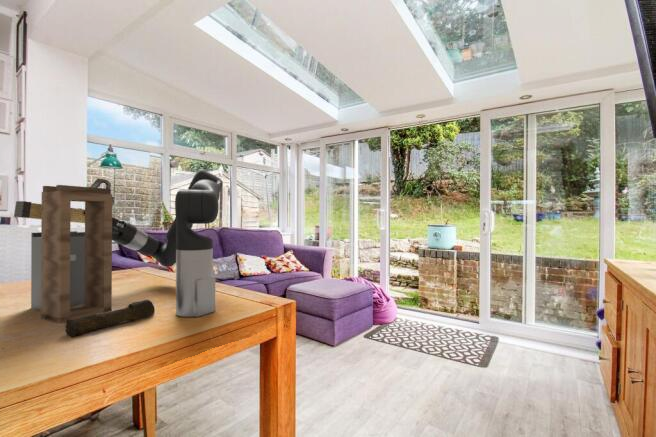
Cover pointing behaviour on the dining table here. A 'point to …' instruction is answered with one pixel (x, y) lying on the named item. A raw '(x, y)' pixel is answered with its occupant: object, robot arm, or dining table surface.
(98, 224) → the brown tall rectangular frame
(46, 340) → the dining table surface
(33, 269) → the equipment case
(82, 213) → the rod
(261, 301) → the dining table surface
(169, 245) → the robot arm
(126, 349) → the dining table surface
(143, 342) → the dining table surface
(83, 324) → the hand tool
